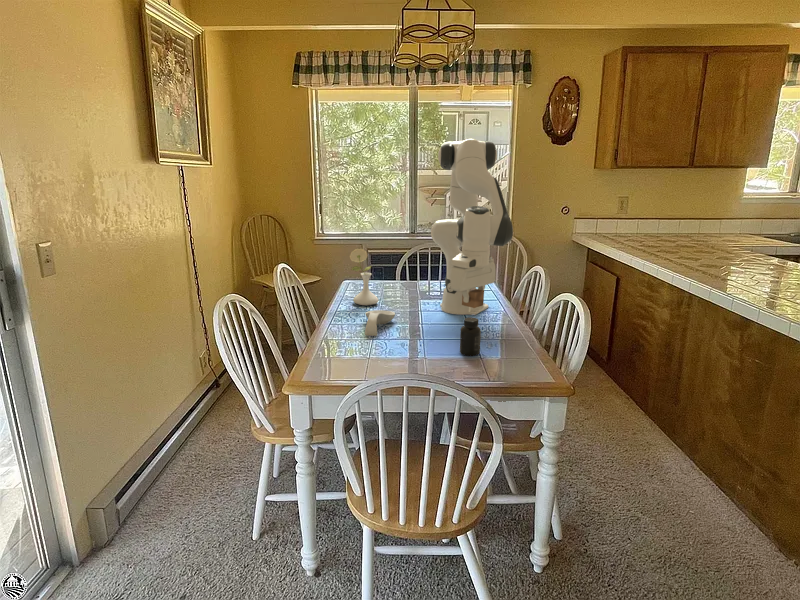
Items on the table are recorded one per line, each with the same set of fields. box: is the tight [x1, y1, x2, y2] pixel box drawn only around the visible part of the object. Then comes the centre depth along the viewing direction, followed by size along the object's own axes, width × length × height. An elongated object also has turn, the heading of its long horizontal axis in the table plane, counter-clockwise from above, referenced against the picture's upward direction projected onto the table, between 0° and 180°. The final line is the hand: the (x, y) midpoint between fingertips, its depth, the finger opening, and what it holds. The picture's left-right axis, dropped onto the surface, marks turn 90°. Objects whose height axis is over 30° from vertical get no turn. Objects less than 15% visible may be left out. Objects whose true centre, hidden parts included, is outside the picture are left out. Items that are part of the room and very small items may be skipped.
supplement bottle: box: [459, 316, 482, 357], centre depth 168 cm, size 7×7×12 cm
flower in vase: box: [348, 248, 380, 306], centre depth 223 cm, size 13×11×25 cm
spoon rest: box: [364, 309, 396, 337], centre depth 195 cm, size 24×12×7 cm, turn 172°
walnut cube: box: [462, 288, 485, 308], centre depth 165 cm, size 5×5×5 cm
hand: (472, 300), depth 165 cm, fingers closed on walnut cube, 5 cm apart
